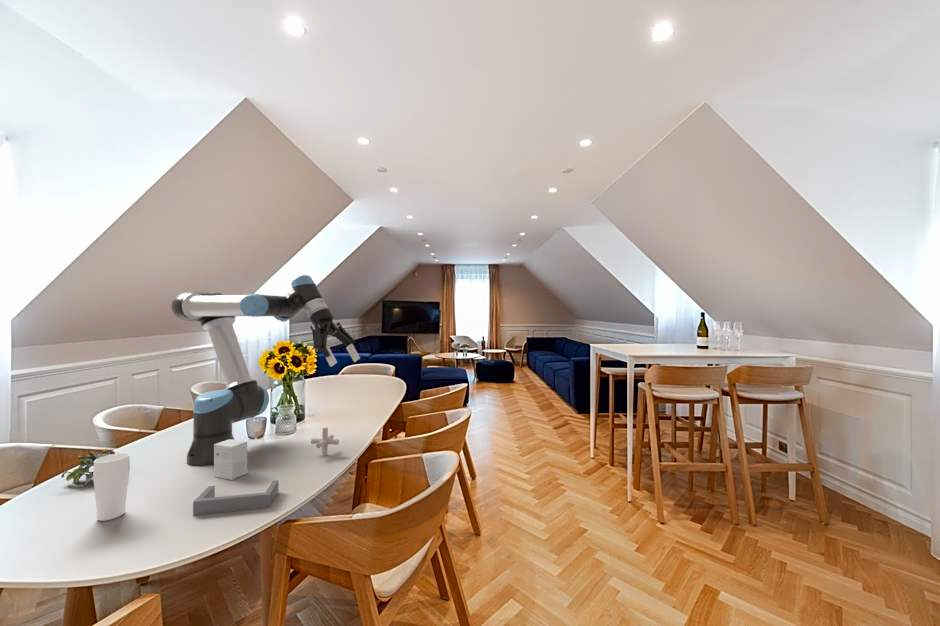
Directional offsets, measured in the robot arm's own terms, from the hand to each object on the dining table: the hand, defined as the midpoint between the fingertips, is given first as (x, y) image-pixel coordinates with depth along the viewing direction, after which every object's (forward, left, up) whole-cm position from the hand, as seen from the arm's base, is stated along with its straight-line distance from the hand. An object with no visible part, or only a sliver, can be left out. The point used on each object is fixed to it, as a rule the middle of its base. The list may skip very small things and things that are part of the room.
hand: (346, 362), depth 135 cm
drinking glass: (-55, -26, -35) cm, 70 cm away
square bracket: (-26, -25, -35) cm, 50 cm away
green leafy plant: (-74, -1, -35) cm, 82 cm away
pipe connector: (-8, +7, -35) cm, 37 cm away
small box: (-35, -5, -35) cm, 50 cm away
